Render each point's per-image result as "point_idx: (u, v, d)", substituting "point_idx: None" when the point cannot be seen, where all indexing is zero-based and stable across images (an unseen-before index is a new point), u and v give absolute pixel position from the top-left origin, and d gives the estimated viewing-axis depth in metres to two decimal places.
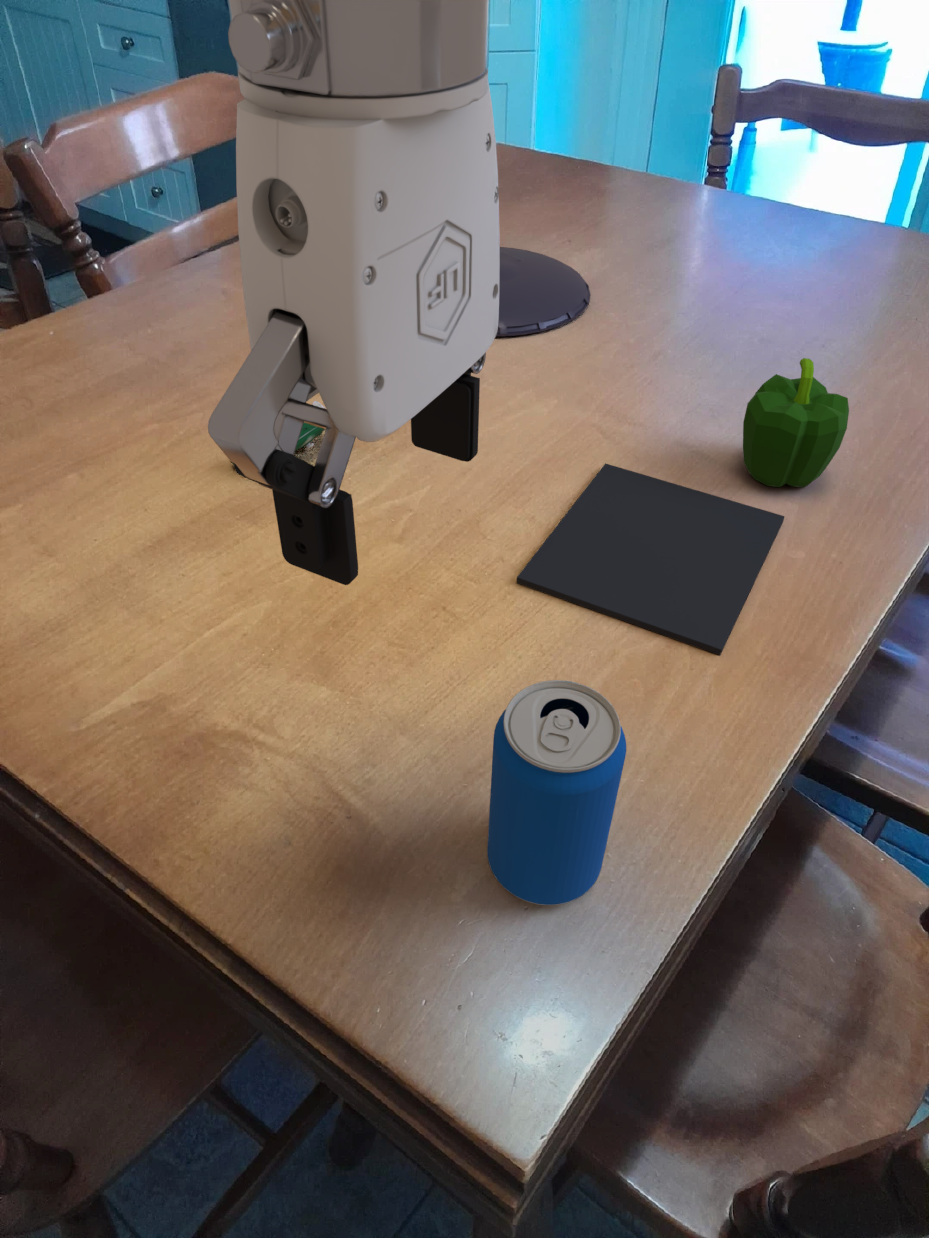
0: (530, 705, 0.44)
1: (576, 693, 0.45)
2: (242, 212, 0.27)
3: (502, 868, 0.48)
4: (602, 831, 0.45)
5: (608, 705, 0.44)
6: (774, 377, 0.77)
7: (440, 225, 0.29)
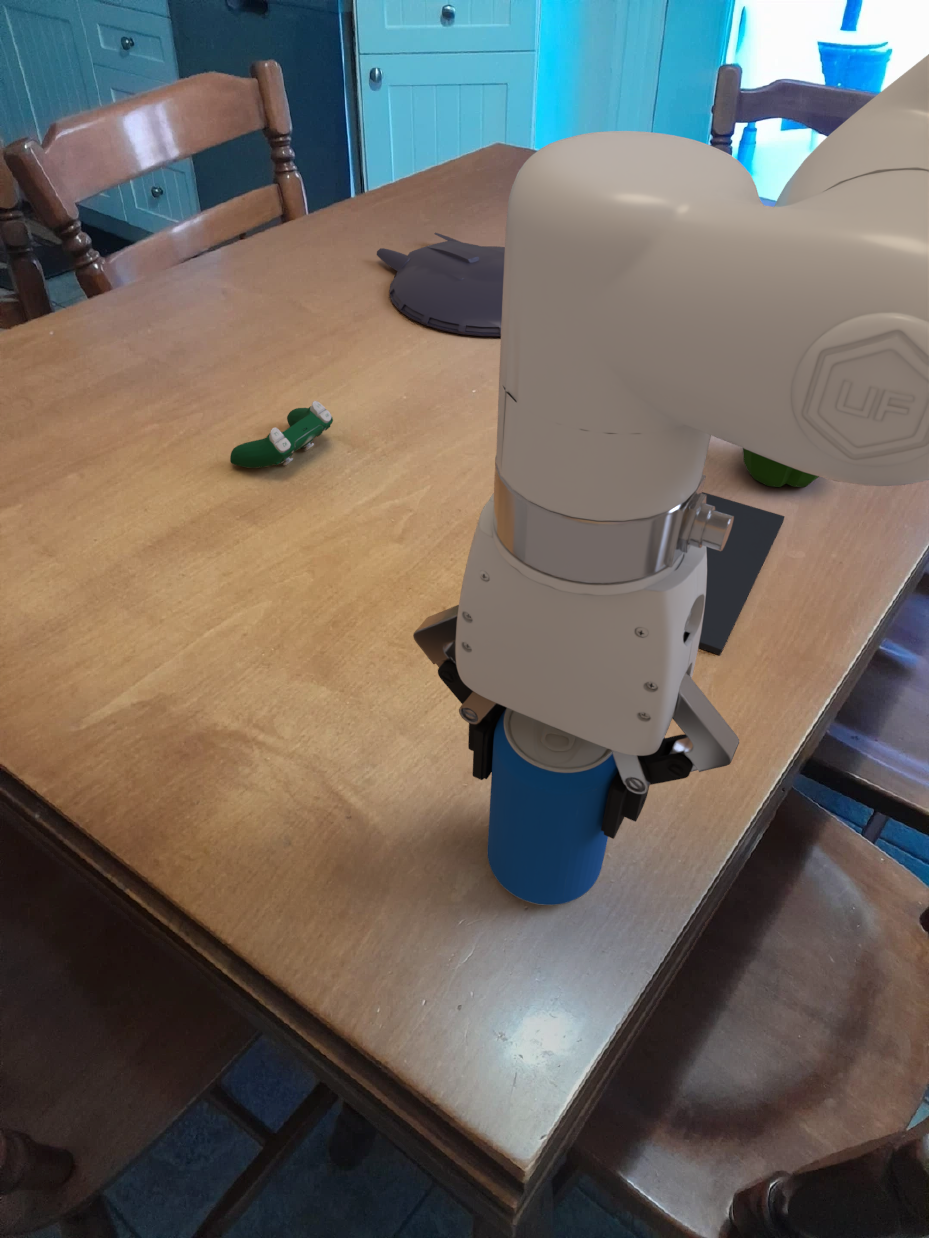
0: None
1: None
2: (674, 645, 0.34)
3: (502, 868, 0.48)
4: (602, 831, 0.45)
5: None
6: None
7: None
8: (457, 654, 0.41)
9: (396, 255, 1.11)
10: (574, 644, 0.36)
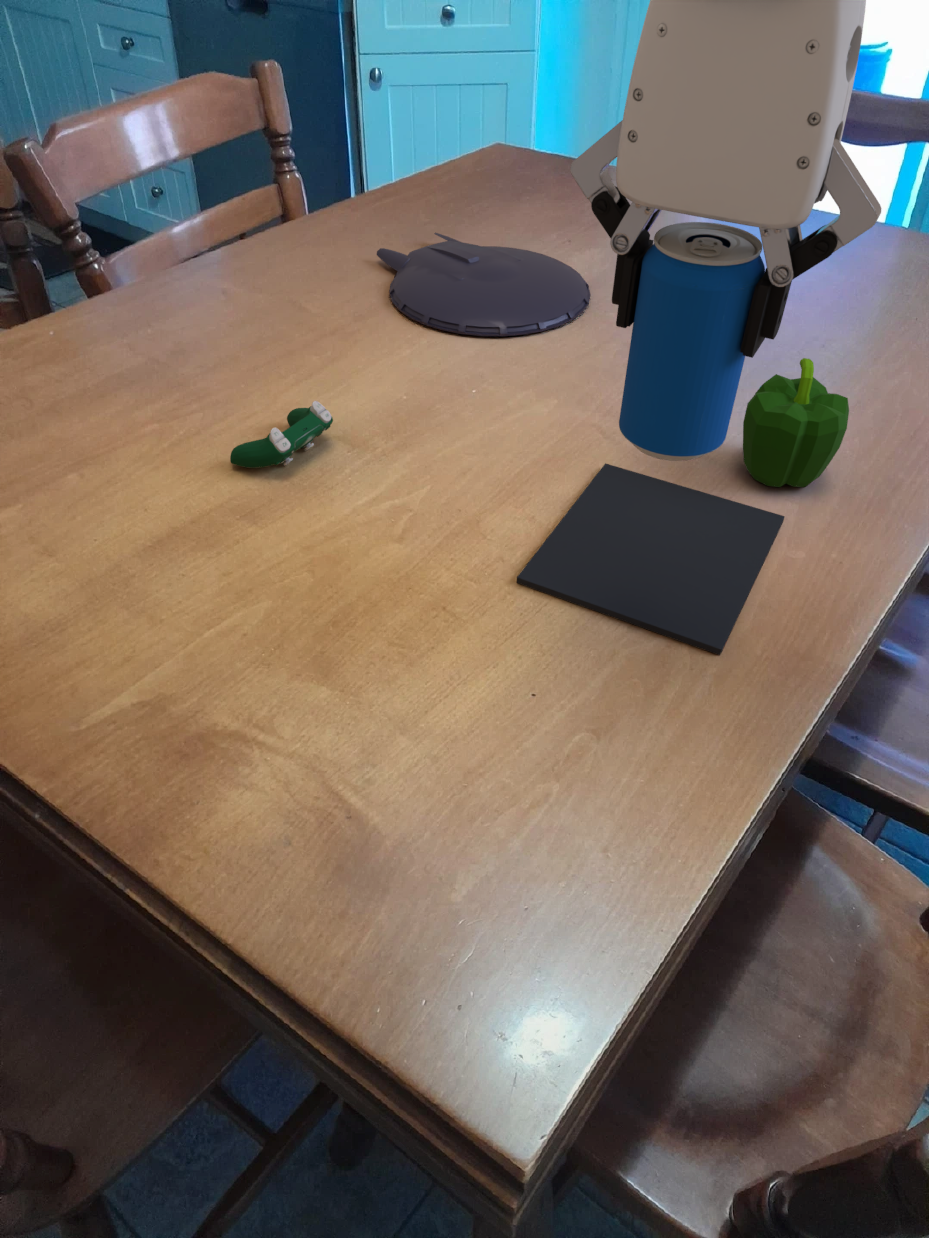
0: (676, 236, 0.48)
1: (715, 231, 0.49)
2: (840, 65, 0.39)
3: (639, 421, 0.52)
4: (738, 363, 0.50)
5: (746, 236, 0.48)
6: (774, 377, 0.77)
7: None
8: (621, 153, 0.45)
9: (396, 255, 1.11)
10: (745, 83, 0.40)
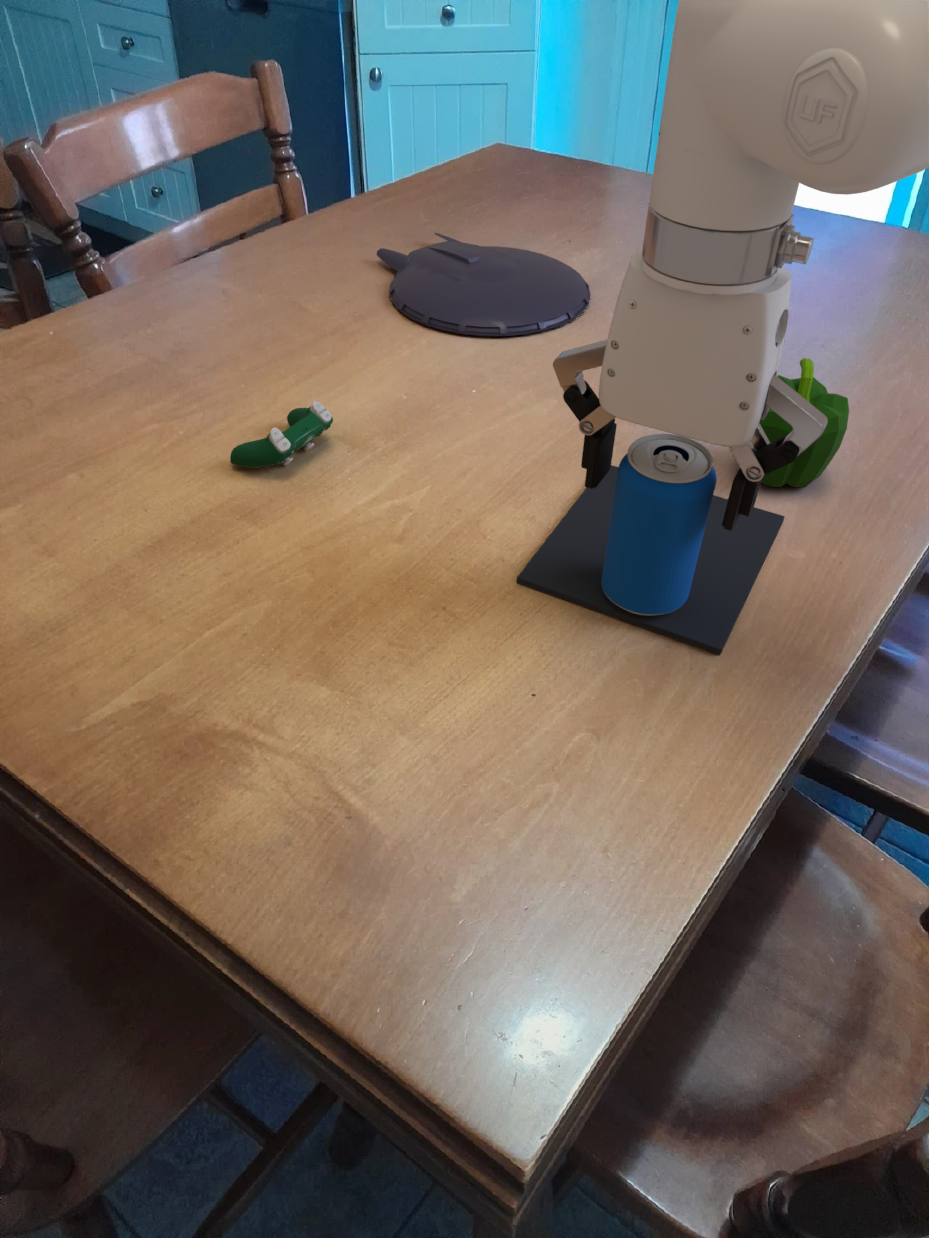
0: (645, 448, 0.60)
1: (678, 442, 0.61)
2: (769, 341, 0.50)
3: (617, 586, 0.64)
4: (696, 547, 0.61)
5: (702, 448, 0.60)
6: None
7: None
8: (602, 382, 0.56)
9: (396, 255, 1.11)
10: (697, 349, 0.51)
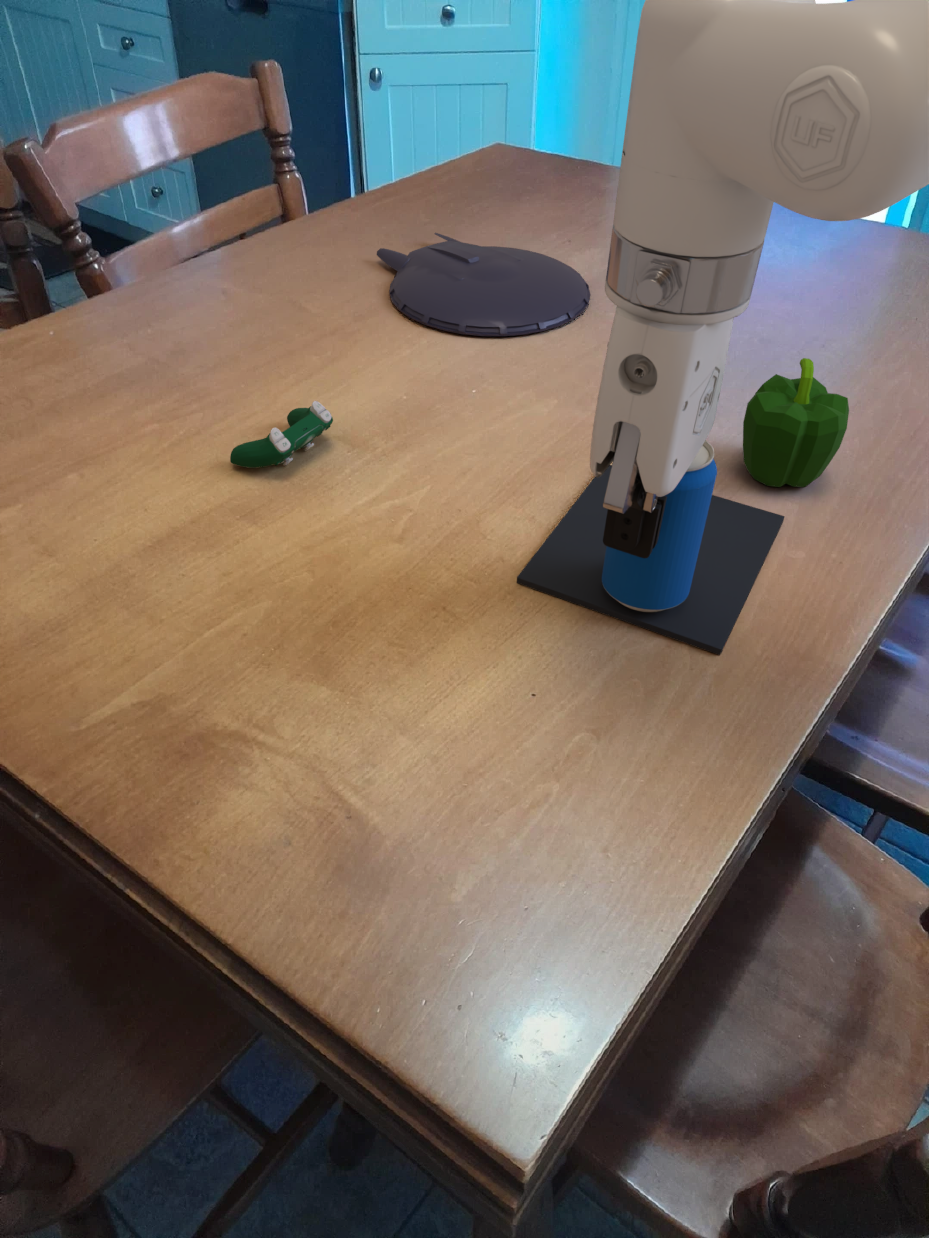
0: None
1: None
2: (609, 368, 0.47)
3: (618, 580, 0.64)
4: (697, 540, 0.62)
5: None
6: (774, 377, 0.77)
7: (712, 370, 0.48)
8: None
9: (396, 255, 1.11)
10: None
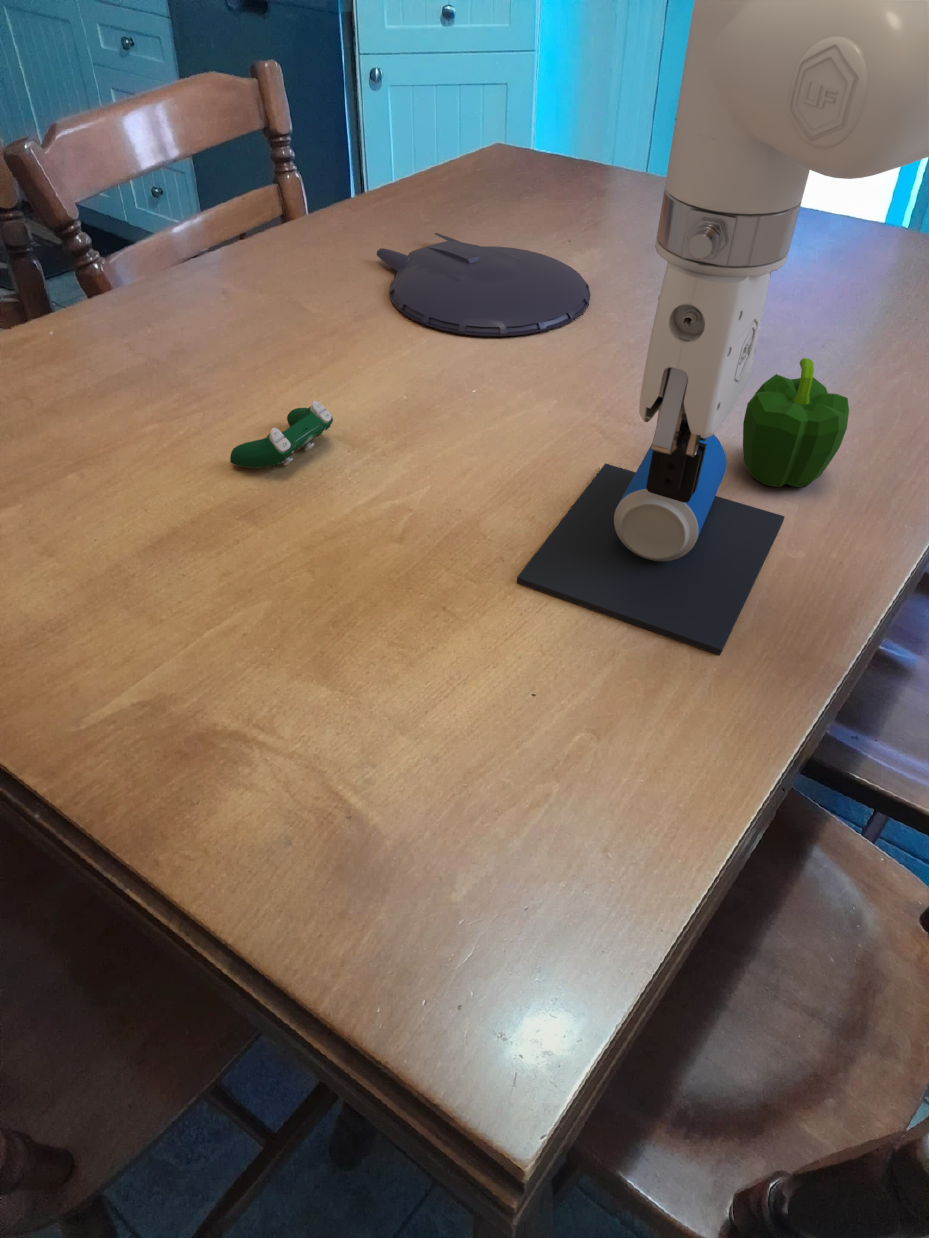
0: None
1: None
2: (661, 318, 0.52)
3: (639, 481, 0.68)
4: (711, 479, 0.70)
5: None
6: (774, 377, 0.77)
7: (752, 322, 0.54)
8: None
9: (396, 255, 1.11)
10: None
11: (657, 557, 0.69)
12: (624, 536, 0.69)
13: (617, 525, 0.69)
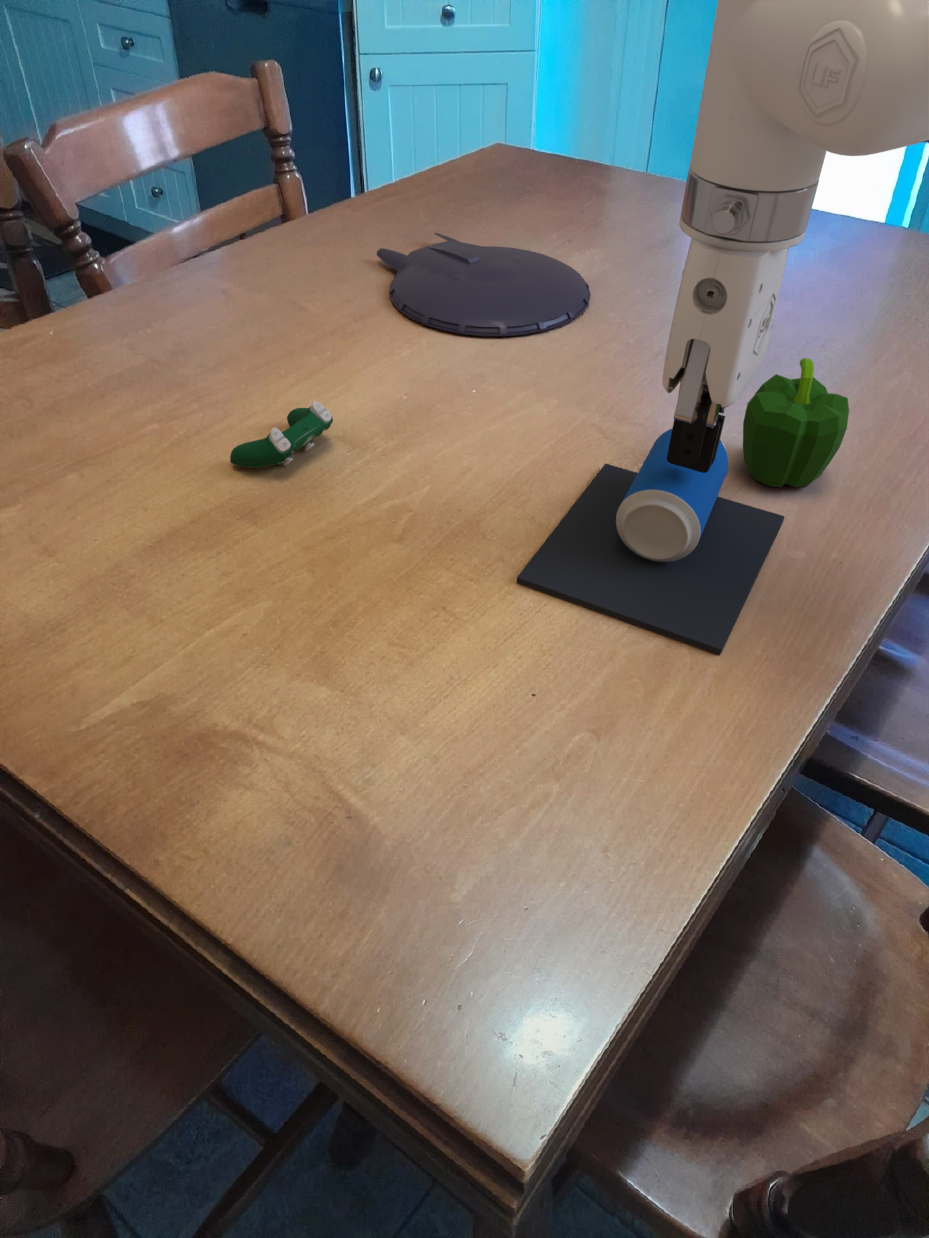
0: None
1: None
2: (685, 292, 0.55)
3: (643, 481, 0.68)
4: (714, 482, 0.70)
5: None
6: (774, 377, 0.77)
7: (771, 296, 0.56)
8: None
9: (396, 255, 1.11)
10: None
11: (658, 558, 0.69)
12: (626, 535, 0.69)
13: (619, 524, 0.69)
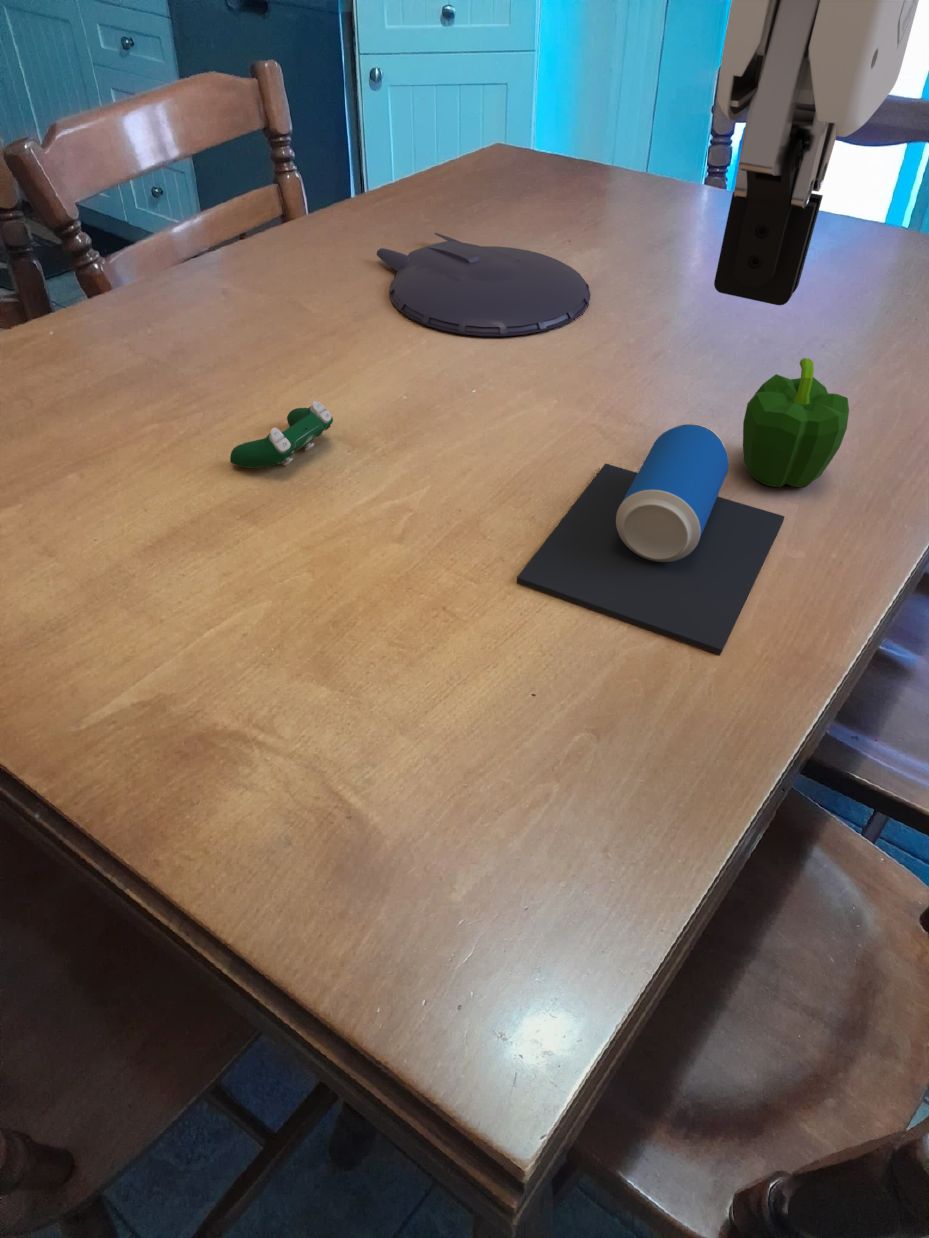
0: None
1: None
2: None
3: (643, 481, 0.68)
4: (714, 482, 0.70)
5: None
6: (774, 377, 0.77)
7: None
8: None
9: (396, 255, 1.11)
10: None
11: (658, 558, 0.69)
12: (626, 535, 0.69)
13: (619, 524, 0.69)
